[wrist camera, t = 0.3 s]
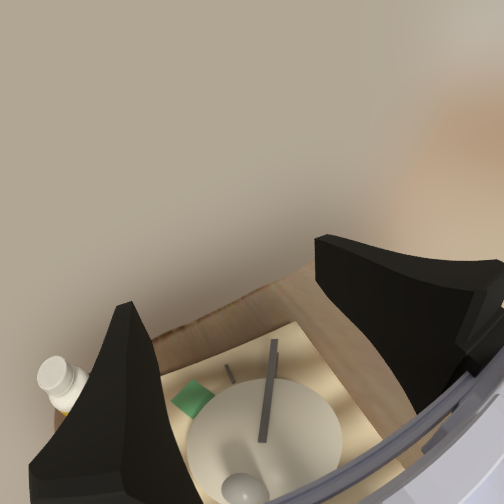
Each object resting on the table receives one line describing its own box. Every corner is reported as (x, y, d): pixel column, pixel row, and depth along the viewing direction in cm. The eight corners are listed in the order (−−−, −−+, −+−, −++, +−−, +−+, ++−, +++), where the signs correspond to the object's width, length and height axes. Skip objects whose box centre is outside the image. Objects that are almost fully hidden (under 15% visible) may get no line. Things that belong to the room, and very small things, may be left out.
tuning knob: (216, 346, 32) (199, 307, 28) (339, 344, 29) (341, 303, 25) (178, 501, 18) (143, 488, 14) (338, 516, 15) (346, 513, 12)
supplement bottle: (78, 419, 27) (25, 374, 21) (105, 390, 30) (58, 341, 25) (102, 446, 24) (44, 405, 19) (131, 414, 28) (81, 366, 22)
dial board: (409, 484, 17) (414, 481, 16) (214, 571, 13) (208, 573, 12) (296, 329, 34) (295, 319, 33) (152, 387, 30) (145, 380, 29)
